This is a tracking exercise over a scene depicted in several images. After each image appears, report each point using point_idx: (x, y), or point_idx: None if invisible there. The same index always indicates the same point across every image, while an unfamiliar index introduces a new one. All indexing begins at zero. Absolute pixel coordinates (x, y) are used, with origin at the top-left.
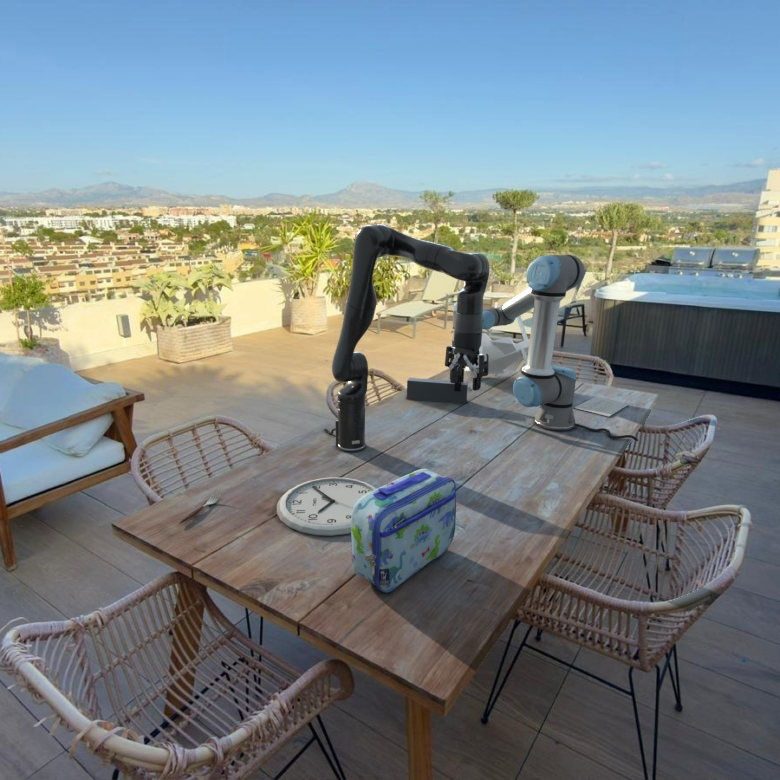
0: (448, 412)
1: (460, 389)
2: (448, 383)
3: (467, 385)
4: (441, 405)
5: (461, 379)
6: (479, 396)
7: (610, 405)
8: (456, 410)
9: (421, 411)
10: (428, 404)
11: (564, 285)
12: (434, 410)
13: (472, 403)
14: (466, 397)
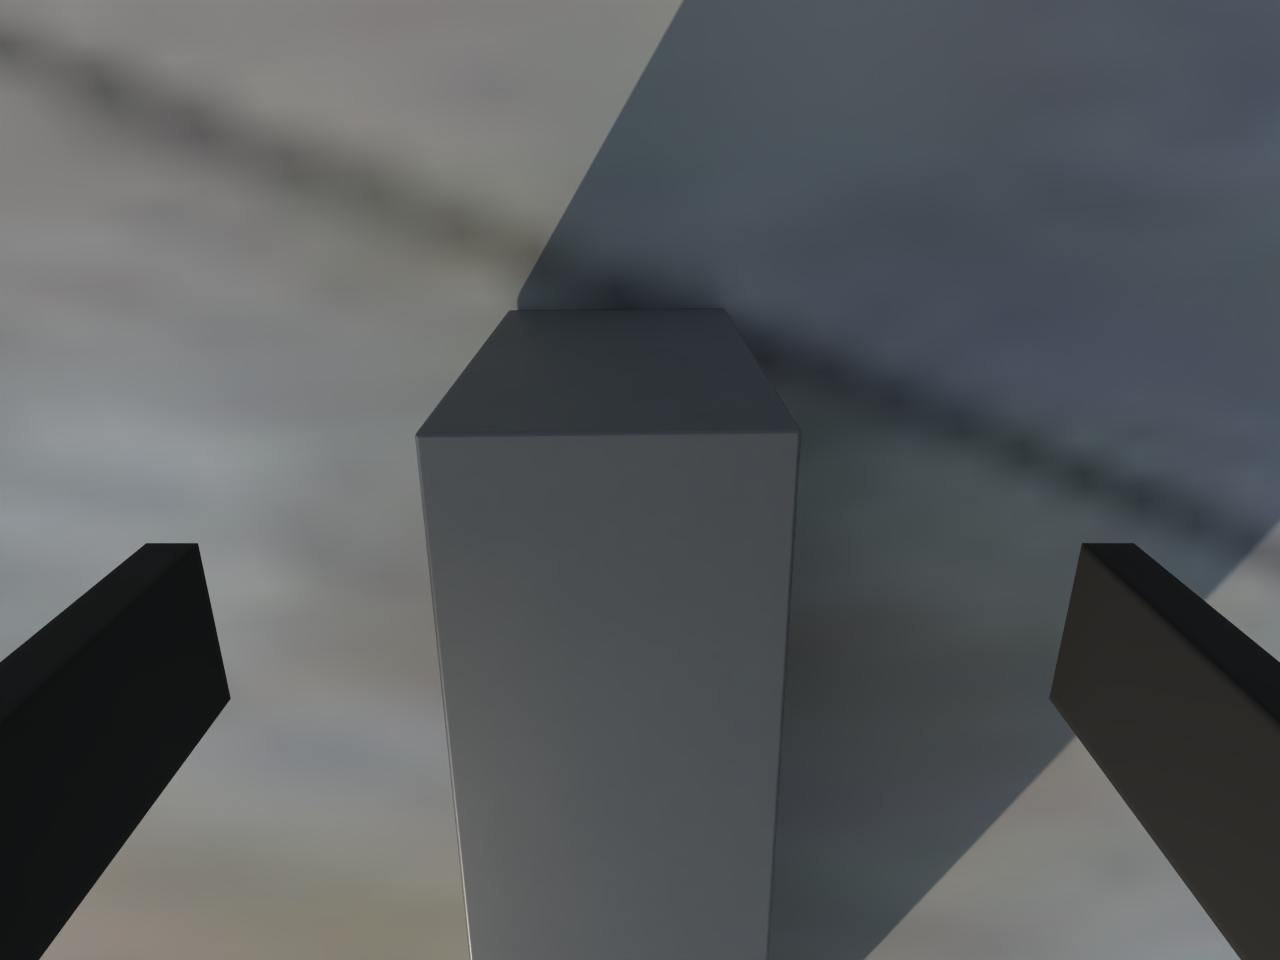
0: (1252, 566)
1: (1169, 581)
2: (756, 940)
3: (589, 409)
4: (897, 707)
5: (147, 661)
6: (81, 36)
7: None
8: (1139, 449)
9: None
10: (882, 877)
11: None
12: None
13: (655, 172)
14: (715, 333)
